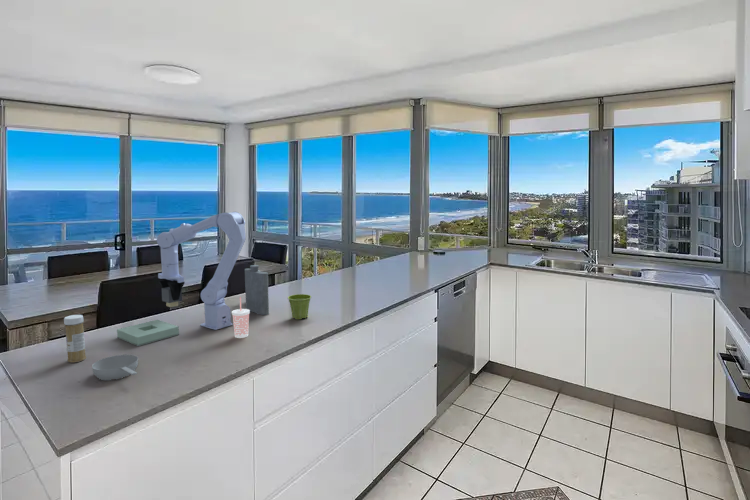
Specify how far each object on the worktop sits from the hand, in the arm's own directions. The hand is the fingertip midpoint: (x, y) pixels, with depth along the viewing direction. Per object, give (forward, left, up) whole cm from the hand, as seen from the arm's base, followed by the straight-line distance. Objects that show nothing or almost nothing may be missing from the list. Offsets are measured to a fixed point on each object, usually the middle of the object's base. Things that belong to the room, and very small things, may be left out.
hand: (172, 298), depth 155 cm
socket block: (-6, +13, -10) cm, 17 cm away
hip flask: (-11, -30, -10) cm, 34 cm away
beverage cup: (-32, -6, -10) cm, 34 cm away
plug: (0, 0, -3) cm, 3 cm away
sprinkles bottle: (-10, +36, -10) cm, 38 cm away
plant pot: (-33, -34, -10) cm, 49 cm away
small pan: (-33, +34, -10) cm, 48 cm away
